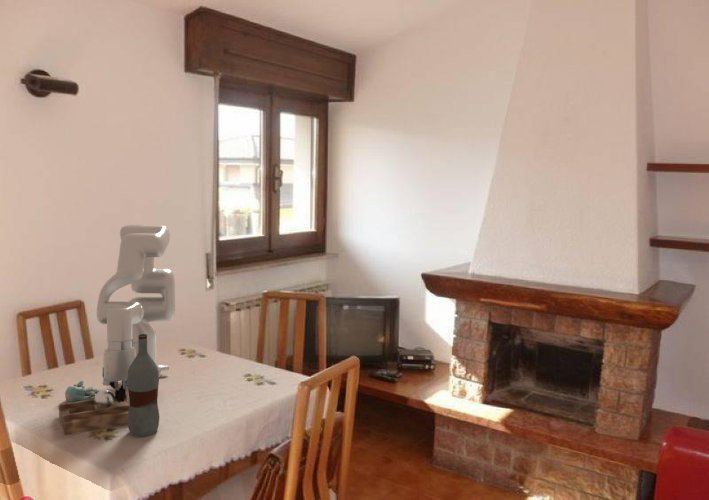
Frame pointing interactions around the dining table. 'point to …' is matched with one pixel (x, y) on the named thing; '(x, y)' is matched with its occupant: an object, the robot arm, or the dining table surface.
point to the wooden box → (92, 416)
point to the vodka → (143, 392)
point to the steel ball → (104, 399)
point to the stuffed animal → (79, 393)
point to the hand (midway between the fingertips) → (120, 400)
